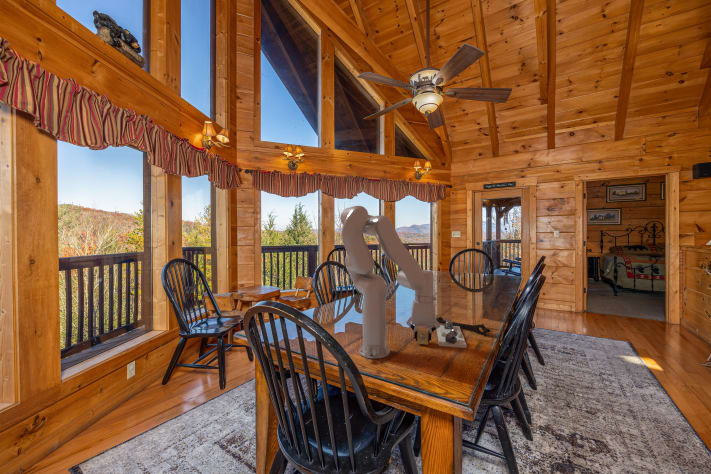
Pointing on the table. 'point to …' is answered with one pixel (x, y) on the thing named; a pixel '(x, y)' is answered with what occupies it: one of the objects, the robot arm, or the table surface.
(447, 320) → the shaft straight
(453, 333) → the dark grey rounded block
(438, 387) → the table surface
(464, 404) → the table surface
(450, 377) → the table surface
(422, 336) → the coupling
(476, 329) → the wrench
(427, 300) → the robot arm
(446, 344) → the light grey rectangular plate
